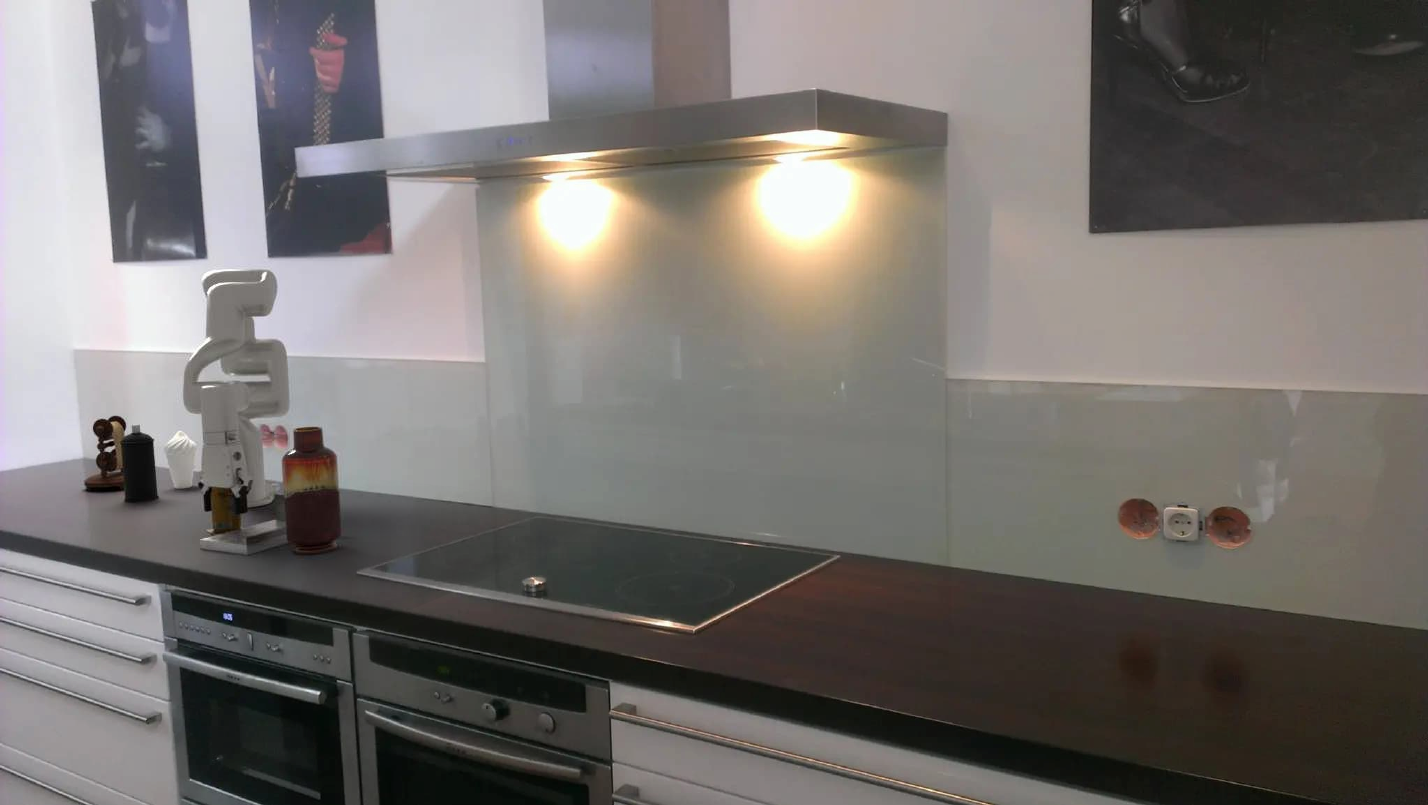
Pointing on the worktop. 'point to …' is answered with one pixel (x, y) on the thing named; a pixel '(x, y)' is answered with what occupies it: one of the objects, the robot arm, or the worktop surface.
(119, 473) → the brown wooden figurine
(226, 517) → the condiment
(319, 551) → the vase
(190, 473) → the soft serve ice cream cone
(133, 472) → the aerosol can
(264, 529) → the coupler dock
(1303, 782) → the worktop surface
